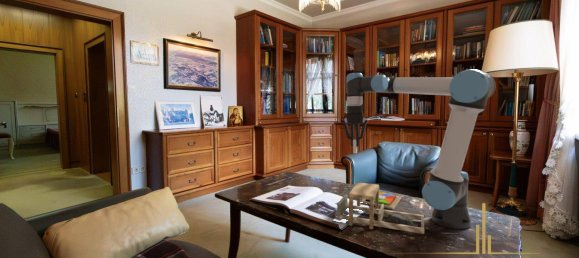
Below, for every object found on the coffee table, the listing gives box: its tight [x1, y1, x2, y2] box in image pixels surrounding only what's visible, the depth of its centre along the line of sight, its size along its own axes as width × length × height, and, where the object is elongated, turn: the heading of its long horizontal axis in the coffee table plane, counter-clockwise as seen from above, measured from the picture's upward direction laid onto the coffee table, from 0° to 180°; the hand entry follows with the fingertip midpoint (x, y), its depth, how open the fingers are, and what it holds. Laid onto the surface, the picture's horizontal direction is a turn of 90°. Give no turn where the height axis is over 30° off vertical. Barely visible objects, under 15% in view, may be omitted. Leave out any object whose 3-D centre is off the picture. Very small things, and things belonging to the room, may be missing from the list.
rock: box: [383, 213, 414, 226], centre depth 119 cm, size 9×11×6 cm
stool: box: [348, 182, 380, 230], centre depth 126 cm, size 10×18×14 cm, turn 155°
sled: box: [336, 193, 425, 235], centre depth 123 cm, size 35×15×7 cm, turn 65°
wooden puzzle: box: [360, 191, 403, 211], centre depth 149 cm, size 18×19×4 cm
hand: (355, 152), depth 139 cm, fingers closed
